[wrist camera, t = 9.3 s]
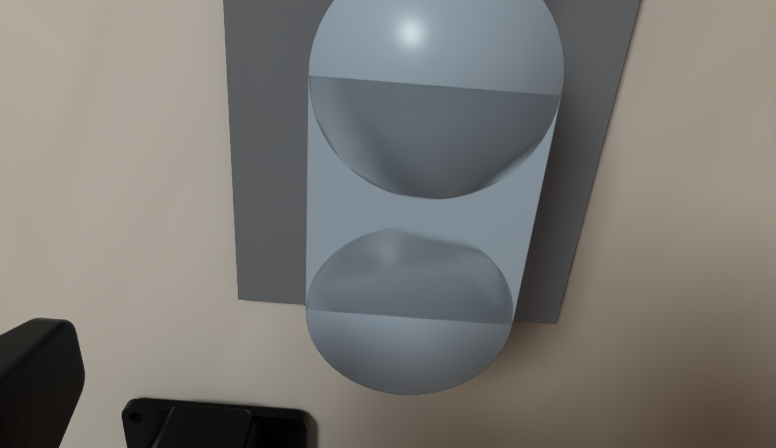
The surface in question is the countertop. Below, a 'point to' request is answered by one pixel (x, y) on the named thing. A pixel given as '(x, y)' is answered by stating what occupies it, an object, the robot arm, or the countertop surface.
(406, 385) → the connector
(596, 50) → the mat
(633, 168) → the countertop surface
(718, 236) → the countertop surface
